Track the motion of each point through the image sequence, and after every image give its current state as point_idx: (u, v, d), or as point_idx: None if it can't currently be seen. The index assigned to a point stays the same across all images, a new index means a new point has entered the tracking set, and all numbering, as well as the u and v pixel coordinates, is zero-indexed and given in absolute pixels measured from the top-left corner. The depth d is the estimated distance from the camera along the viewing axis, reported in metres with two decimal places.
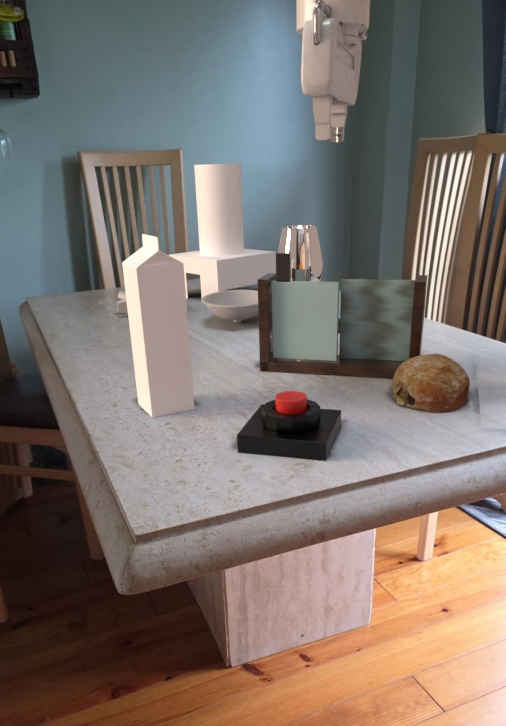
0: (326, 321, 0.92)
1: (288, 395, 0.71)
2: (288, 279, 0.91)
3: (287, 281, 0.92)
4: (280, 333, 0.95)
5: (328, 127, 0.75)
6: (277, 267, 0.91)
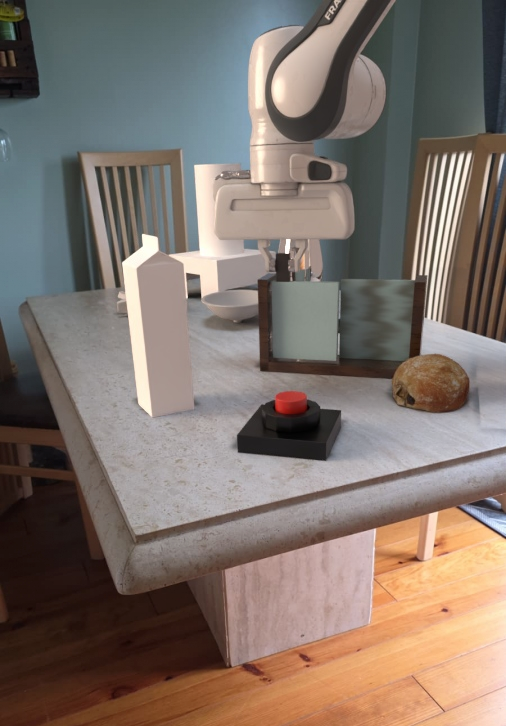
0: (326, 321, 0.92)
1: (288, 395, 0.71)
2: (288, 279, 0.91)
3: (287, 281, 0.92)
4: (280, 333, 0.95)
5: None
6: (277, 267, 0.91)
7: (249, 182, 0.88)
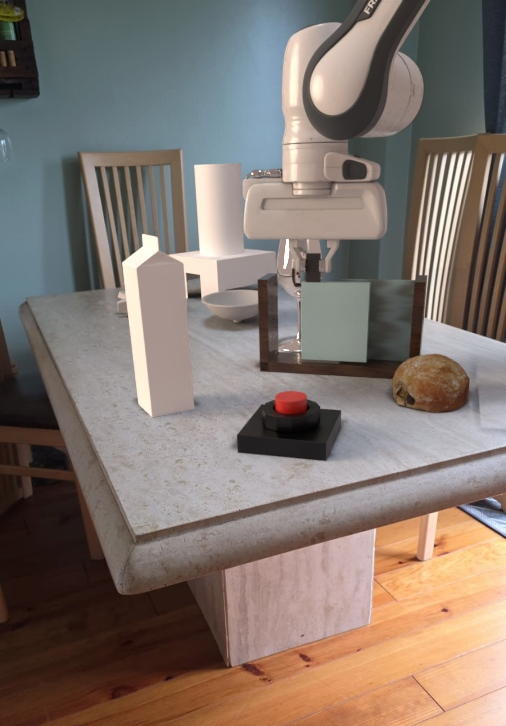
0: (357, 322, 0.91)
1: (288, 395, 0.71)
2: (318, 279, 0.90)
3: (317, 281, 0.90)
4: (309, 334, 0.94)
5: None
6: (307, 267, 0.90)
7: (280, 181, 0.86)
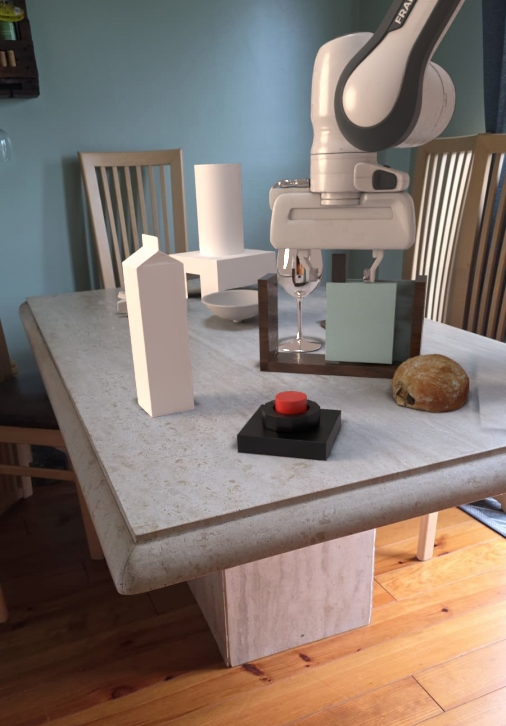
0: (383, 323, 0.90)
1: (288, 395, 0.71)
2: (344, 280, 0.89)
3: (343, 282, 0.89)
4: (333, 335, 0.93)
5: (306, 272, 0.90)
6: (333, 268, 0.89)
7: (308, 191, 0.86)
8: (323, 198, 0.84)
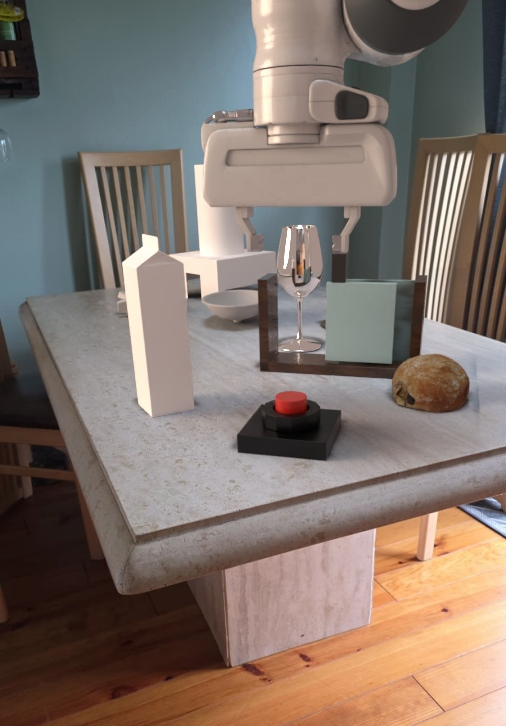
0: (383, 323, 0.90)
1: (288, 395, 0.71)
2: (344, 280, 0.89)
3: (343, 282, 0.89)
4: (333, 335, 0.93)
5: (246, 238, 0.68)
6: (333, 268, 0.89)
7: (252, 126, 0.63)
8: (270, 134, 0.61)
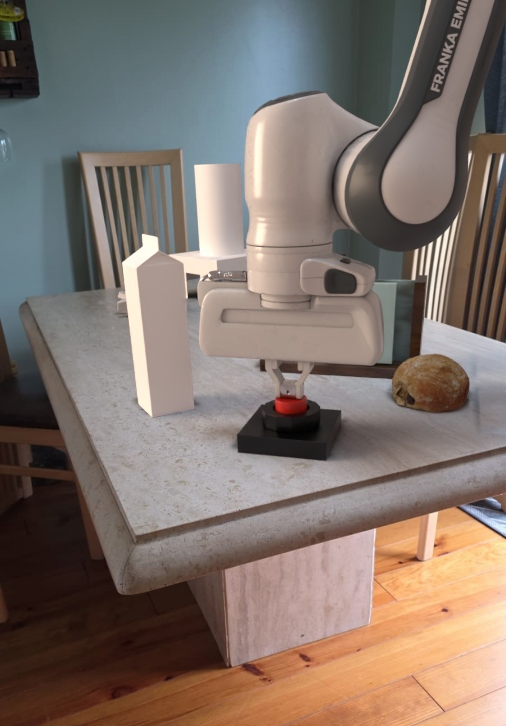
0: None
1: None
2: None
3: None
4: None
5: (275, 386, 0.70)
6: None
7: (246, 287, 0.66)
8: (263, 299, 0.64)
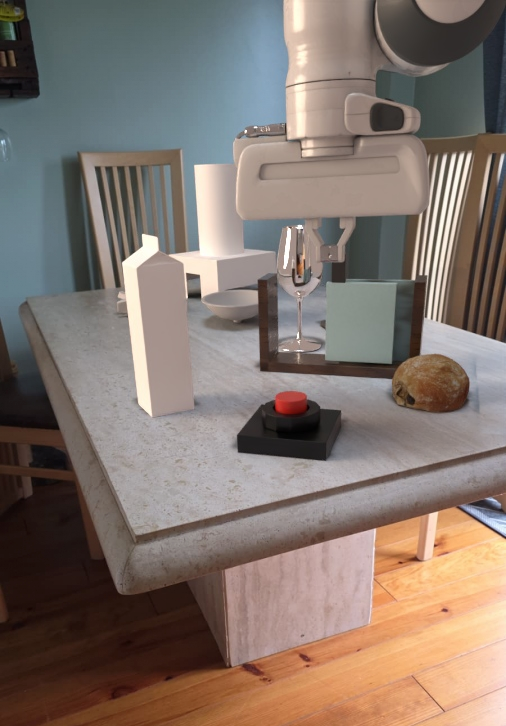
0: (383, 323, 0.90)
1: (288, 395, 0.71)
2: (344, 280, 0.89)
3: (343, 282, 0.89)
4: (333, 335, 0.93)
5: (316, 249, 0.67)
6: (333, 268, 0.89)
7: (284, 140, 0.64)
8: (304, 148, 0.62)
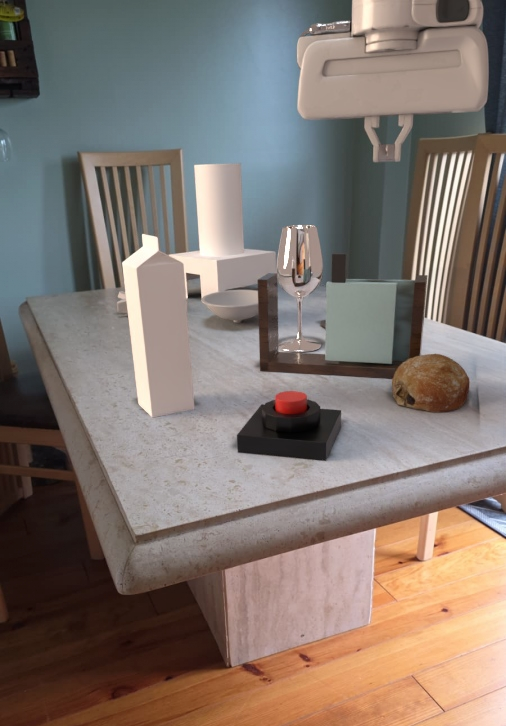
0: (383, 323, 0.90)
1: (288, 395, 0.71)
2: (344, 280, 0.89)
3: (343, 282, 0.89)
4: (333, 335, 0.93)
5: None
6: (333, 268, 0.89)
7: (348, 37, 0.66)
8: (369, 42, 0.64)
